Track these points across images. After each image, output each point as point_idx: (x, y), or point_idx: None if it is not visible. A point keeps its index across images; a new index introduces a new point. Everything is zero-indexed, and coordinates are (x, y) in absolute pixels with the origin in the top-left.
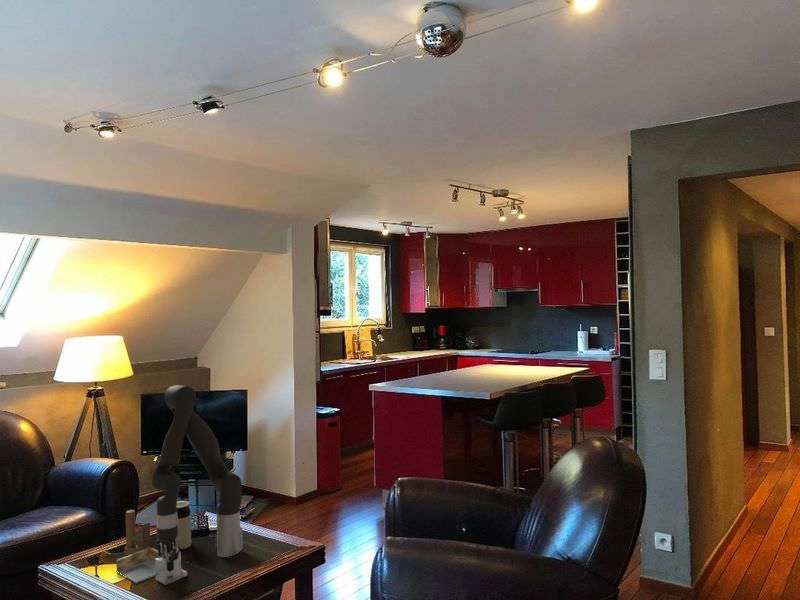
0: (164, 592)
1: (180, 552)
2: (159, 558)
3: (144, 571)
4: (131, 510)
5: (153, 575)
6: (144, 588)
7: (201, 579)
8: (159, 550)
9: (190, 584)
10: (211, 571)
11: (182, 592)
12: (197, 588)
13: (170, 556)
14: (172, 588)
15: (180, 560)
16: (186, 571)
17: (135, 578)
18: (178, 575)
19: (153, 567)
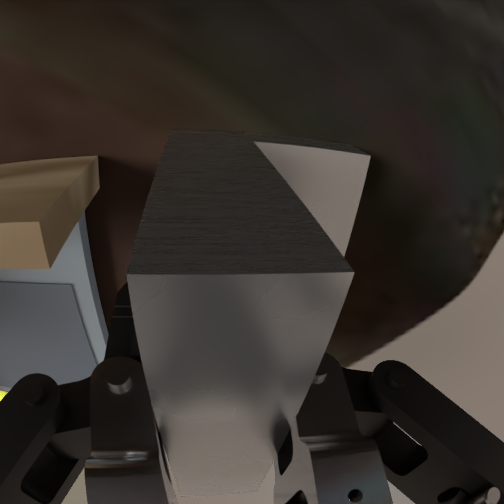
0: (362, 353)
1: (350, 270)
2: (211, 487)
3: (18, 334)
4: None
5: (102, 318)
6: None
7: (475, 142)
8: (61, 500)
9: (449, 226)
10: (461, 11)
11: (446, 299)
12: (493, 233)
13: (284, 431)
14: (377, 314)
15: (281, 182)
16: (363, 155)
17: None
18: (346, 247)
19: None
